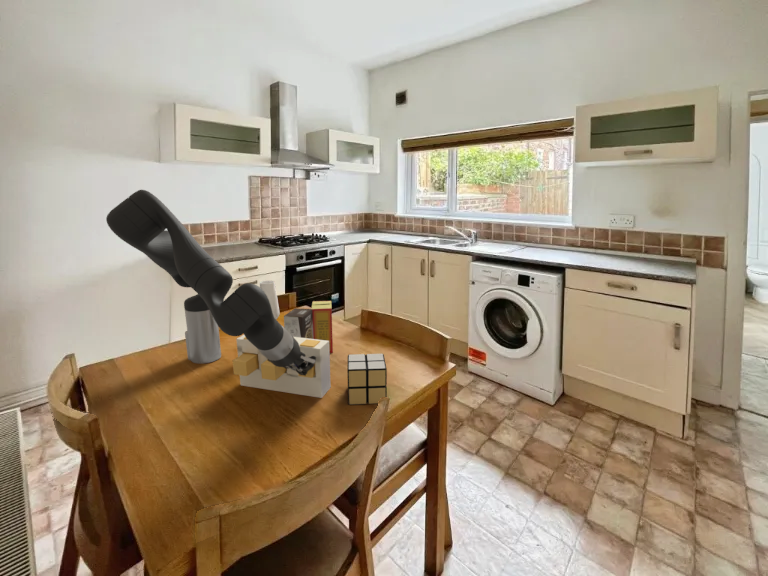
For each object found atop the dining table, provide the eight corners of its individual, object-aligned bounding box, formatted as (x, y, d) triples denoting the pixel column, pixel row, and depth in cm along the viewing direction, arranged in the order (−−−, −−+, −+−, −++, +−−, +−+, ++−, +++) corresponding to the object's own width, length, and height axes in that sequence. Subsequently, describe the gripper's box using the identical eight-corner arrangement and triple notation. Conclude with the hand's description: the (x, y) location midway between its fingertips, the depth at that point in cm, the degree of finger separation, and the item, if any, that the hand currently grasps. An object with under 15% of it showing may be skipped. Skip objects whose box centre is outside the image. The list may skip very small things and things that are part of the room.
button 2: (261, 378, 108) (260, 364, 107) (273, 369, 113) (272, 355, 112) (275, 380, 107) (274, 366, 106) (286, 371, 112) (285, 357, 111)
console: (240, 385, 117) (236, 337, 113) (252, 376, 122) (249, 330, 119) (321, 397, 110) (319, 347, 106) (330, 387, 116) (329, 339, 112)
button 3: (298, 376, 109) (297, 362, 108) (308, 366, 115) (307, 353, 114) (312, 378, 108) (311, 363, 107) (321, 368, 113) (321, 355, 112)
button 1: (233, 374, 110) (232, 360, 109) (246, 365, 115) (245, 352, 114) (246, 376, 109) (245, 362, 108) (259, 367, 114) (258, 353, 113)
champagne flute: (257, 353, 139) (252, 283, 133) (267, 345, 145) (263, 279, 139) (276, 354, 137) (271, 285, 131) (285, 347, 144) (281, 280, 138)
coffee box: (304, 366, 129) (302, 317, 125) (285, 364, 130) (282, 315, 126) (315, 354, 138) (313, 308, 134) (297, 353, 139) (294, 307, 135)
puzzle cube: (348, 387, 116) (347, 354, 114) (383, 385, 117) (383, 353, 114) (348, 405, 106) (347, 370, 104) (386, 404, 107) (386, 368, 105)
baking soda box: (332, 352, 139) (331, 307, 135) (313, 353, 139) (311, 308, 135) (332, 342, 148) (331, 299, 145) (314, 343, 148) (312, 300, 144)
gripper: (245, 356, 93) (277, 382, 108) (298, 363, 90) (323, 389, 104) (257, 326, 97) (286, 355, 111) (308, 332, 93) (331, 361, 108)
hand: (304, 371), depth 108 cm, fingers closed
